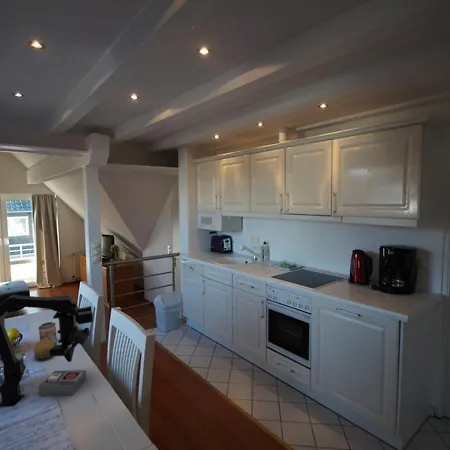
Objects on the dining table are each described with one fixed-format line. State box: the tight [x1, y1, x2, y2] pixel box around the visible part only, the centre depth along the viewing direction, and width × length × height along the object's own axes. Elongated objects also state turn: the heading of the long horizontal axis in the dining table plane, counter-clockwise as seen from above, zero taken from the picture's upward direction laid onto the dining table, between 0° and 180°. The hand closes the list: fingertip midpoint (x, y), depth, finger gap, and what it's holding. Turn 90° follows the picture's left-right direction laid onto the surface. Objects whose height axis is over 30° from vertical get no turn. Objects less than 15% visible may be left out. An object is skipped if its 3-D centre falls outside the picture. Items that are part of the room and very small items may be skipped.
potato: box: [33, 339, 56, 359], centre depth 163 cm, size 10×14×8 cm
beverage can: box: [38, 321, 58, 345], centre depth 176 cm, size 9×8×12 cm
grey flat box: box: [37, 369, 87, 397], centre depth 136 cm, size 12×14×5 cm
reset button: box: [66, 373, 76, 380], centre depth 135 cm, size 4×4×5 cm
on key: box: [47, 373, 62, 382], centre depth 136 cm, size 4×4×5 cm
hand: (69, 361), depth 135 cm, fingers closed
